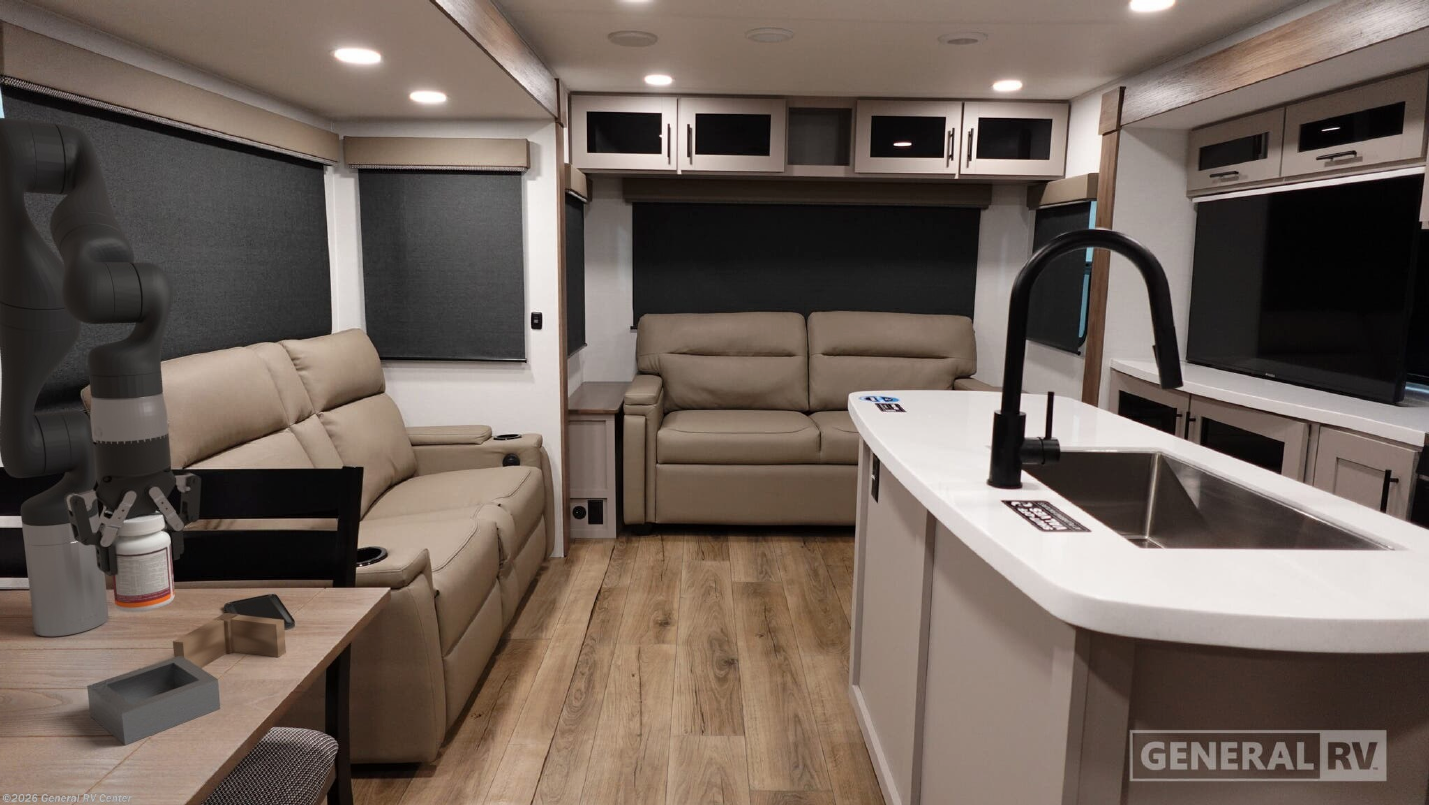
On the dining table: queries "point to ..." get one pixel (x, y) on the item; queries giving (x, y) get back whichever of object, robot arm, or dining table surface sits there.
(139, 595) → the pill bottle
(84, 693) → the dining table surface
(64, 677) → the dining table surface
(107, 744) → the dining table surface
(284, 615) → the phone
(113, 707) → the bore block
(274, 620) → the v block
